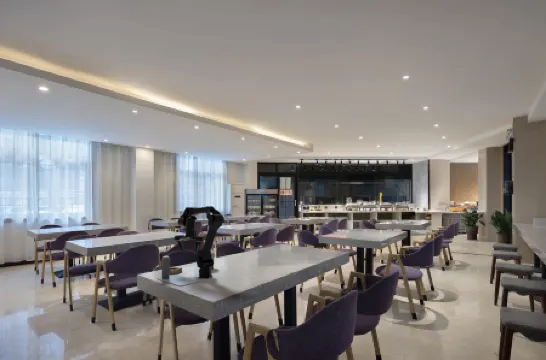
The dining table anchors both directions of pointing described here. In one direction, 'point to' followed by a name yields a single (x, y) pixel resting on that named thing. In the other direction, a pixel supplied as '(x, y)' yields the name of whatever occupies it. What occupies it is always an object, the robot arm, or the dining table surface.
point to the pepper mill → (165, 267)
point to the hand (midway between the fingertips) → (189, 251)
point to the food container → (212, 258)
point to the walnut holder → (175, 270)
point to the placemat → (179, 280)
